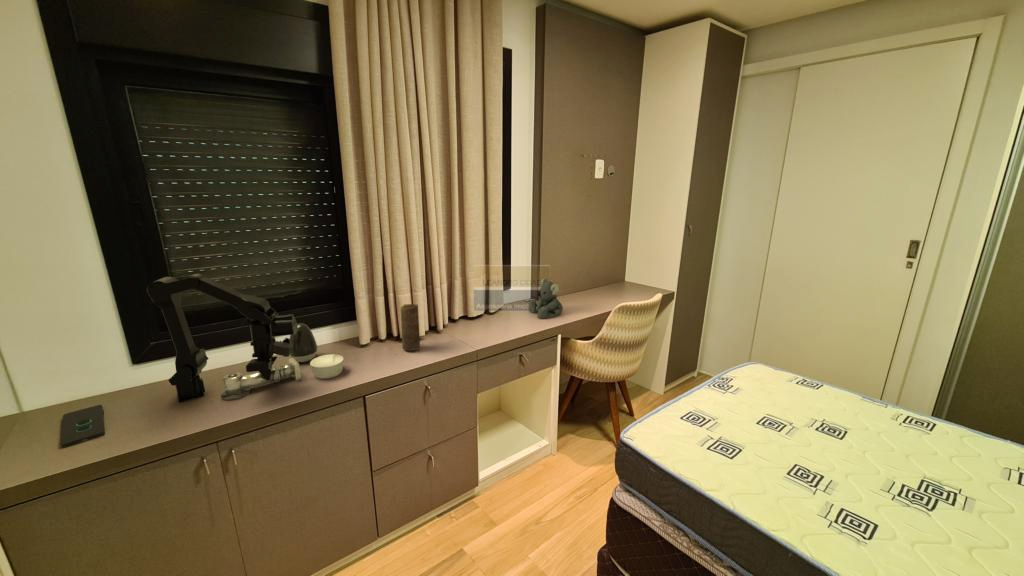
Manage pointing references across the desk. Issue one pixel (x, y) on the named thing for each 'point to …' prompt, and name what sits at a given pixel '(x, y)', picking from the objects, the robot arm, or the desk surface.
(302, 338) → the black egg-shaped dome
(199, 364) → the robot arm
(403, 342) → the candle
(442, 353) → the desk surface
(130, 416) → the desk surface
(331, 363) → the ramekin
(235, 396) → the metal pipe fitting
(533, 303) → the koala plush
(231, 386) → the elbow
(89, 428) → the smart home device
